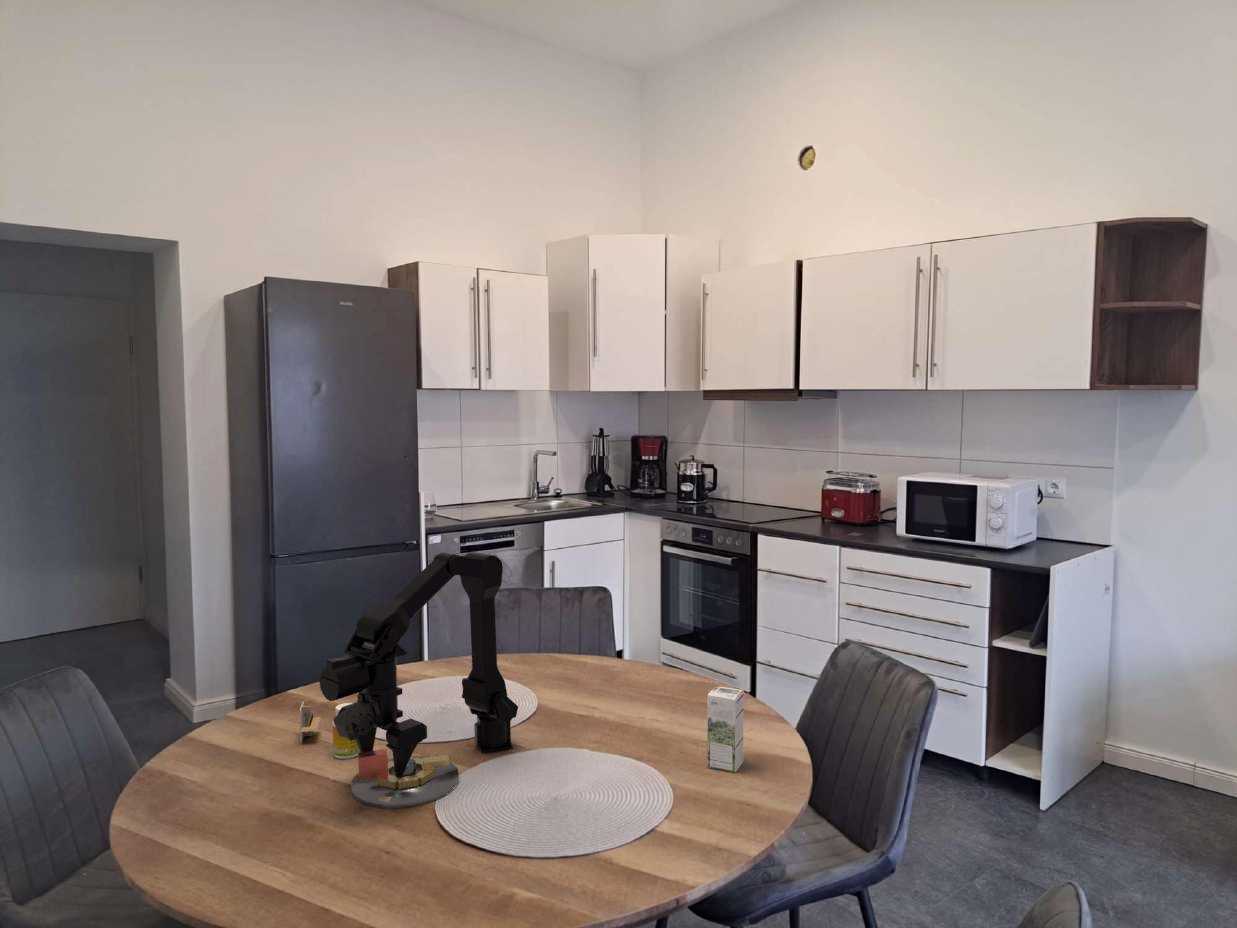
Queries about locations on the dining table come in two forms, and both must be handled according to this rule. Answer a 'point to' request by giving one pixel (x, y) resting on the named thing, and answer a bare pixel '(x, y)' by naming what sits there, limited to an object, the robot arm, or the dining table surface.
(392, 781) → the colourful block cluster
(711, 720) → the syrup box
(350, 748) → the supplement bottle
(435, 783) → the cap plate
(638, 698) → the dining table surface
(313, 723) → the architectural model
